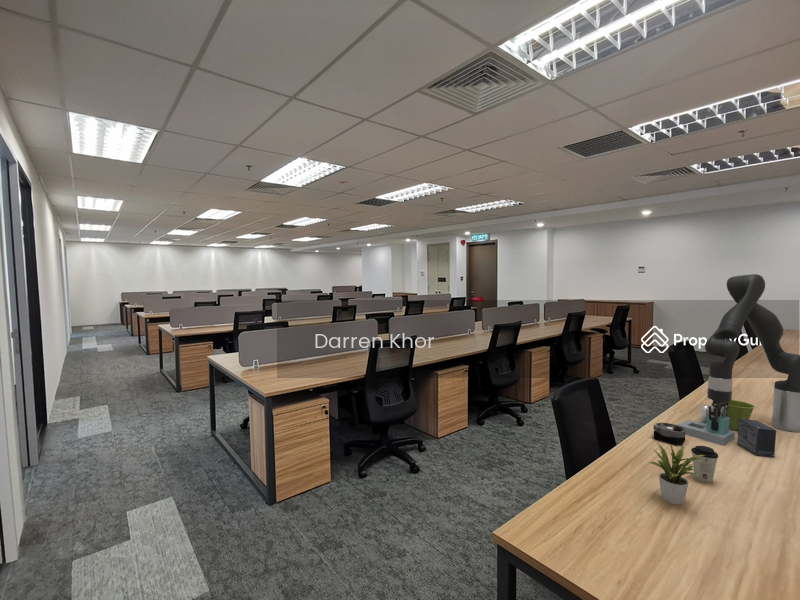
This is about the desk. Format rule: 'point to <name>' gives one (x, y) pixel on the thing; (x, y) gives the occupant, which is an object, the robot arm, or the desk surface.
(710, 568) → the desk surface
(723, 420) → the teal cube
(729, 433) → the peg board
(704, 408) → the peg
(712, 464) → the coffee cup
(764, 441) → the small box
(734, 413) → the plant pot
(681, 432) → the cpu cooler
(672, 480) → the house plant
